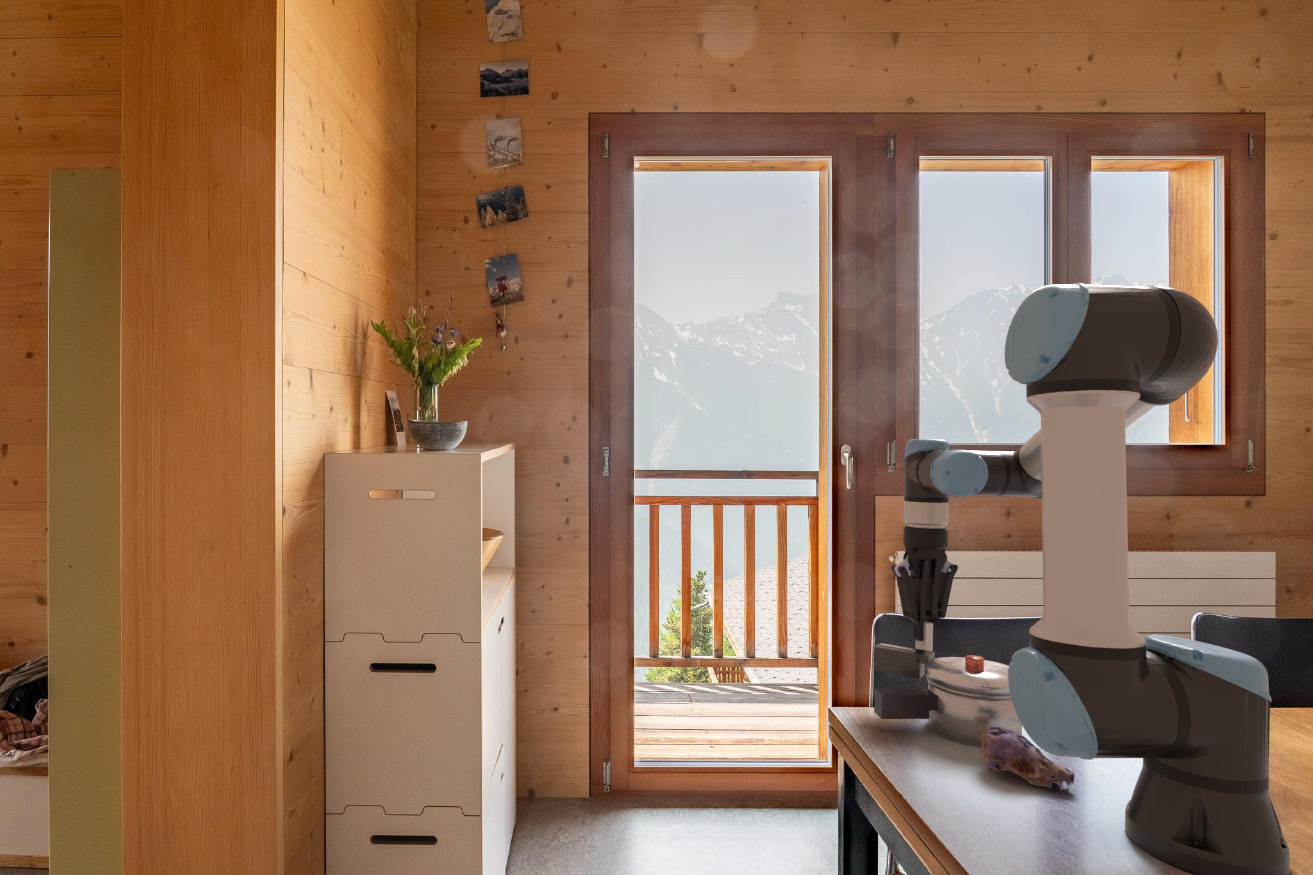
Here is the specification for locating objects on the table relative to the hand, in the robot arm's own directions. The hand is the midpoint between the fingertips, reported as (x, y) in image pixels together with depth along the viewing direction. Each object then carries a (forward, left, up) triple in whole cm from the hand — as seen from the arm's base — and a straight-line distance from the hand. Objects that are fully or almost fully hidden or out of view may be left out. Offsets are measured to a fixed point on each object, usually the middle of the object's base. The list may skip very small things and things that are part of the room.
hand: (923, 658), depth 131 cm
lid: (-9, 0, -1) cm, 9 cm away
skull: (-29, -1, -9) cm, 31 cm away
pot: (-12, +1, -9) cm, 14 cm away
